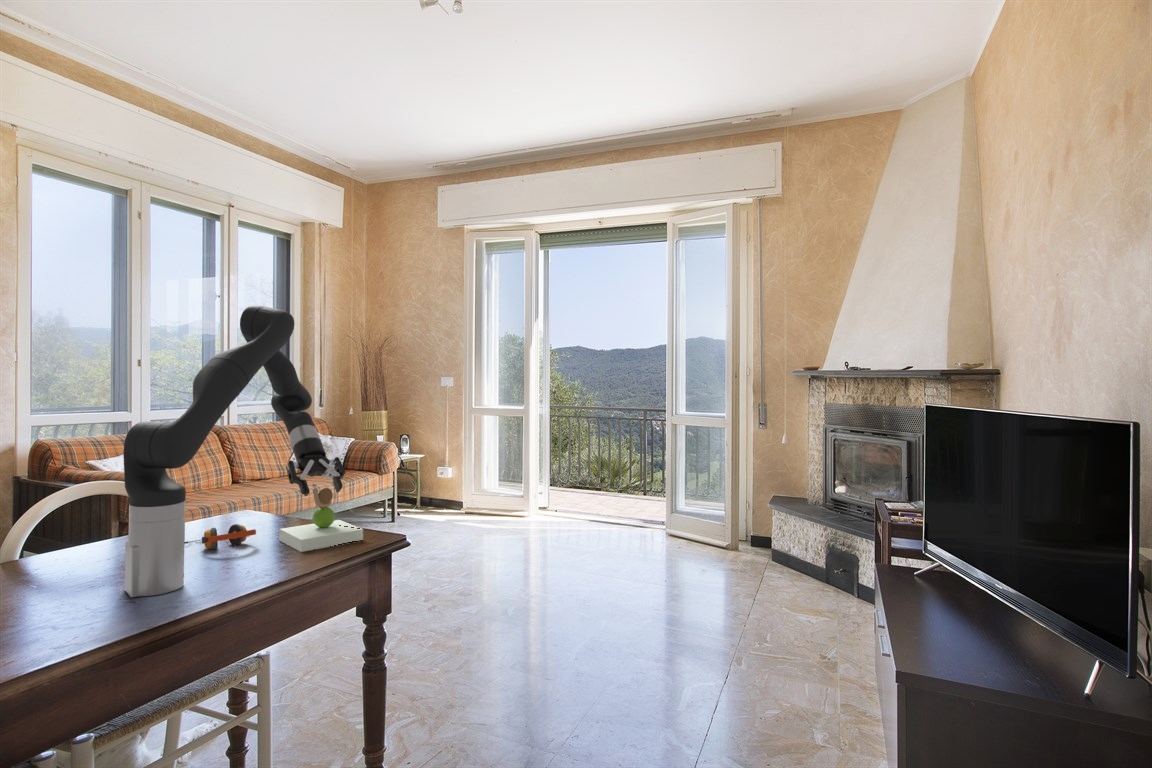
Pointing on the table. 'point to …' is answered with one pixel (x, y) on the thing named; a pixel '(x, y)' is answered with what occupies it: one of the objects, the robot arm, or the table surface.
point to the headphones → (226, 536)
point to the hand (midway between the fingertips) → (323, 492)
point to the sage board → (319, 535)
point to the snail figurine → (323, 508)
